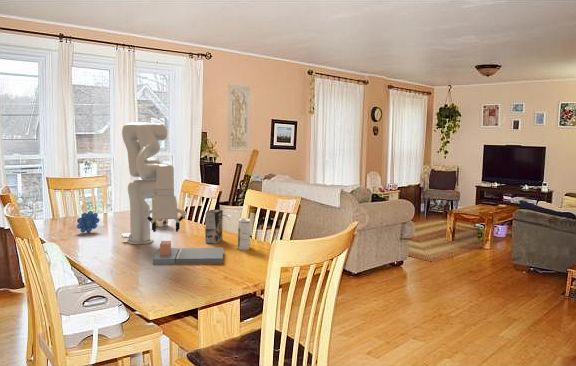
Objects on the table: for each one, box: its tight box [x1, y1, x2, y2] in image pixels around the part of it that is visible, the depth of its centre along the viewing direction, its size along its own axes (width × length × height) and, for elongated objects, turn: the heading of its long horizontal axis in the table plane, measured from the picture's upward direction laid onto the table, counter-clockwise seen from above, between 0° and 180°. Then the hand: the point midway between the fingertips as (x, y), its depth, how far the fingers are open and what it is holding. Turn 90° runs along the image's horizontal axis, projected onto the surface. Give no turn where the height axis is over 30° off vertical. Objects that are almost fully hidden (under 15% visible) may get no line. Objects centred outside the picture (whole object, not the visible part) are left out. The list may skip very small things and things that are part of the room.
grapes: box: [76, 210, 100, 233], centre depth 254 cm, size 12×7×12 cm, turn 121°
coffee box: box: [204, 209, 224, 244], centre depth 240 cm, size 9×6×16 cm
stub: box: [152, 240, 180, 265], centre depth 206 cm, size 9×18×7 cm, turn 7°
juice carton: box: [151, 198, 169, 228], centre depth 275 cm, size 8×9×19 cm
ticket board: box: [174, 247, 224, 265], centre depth 208 cm, size 20×18×3 cm
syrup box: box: [237, 217, 251, 251], centre depth 227 cm, size 6×6×14 cm
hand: (165, 231), depth 204 cm, fingers open, 9 cm apart
